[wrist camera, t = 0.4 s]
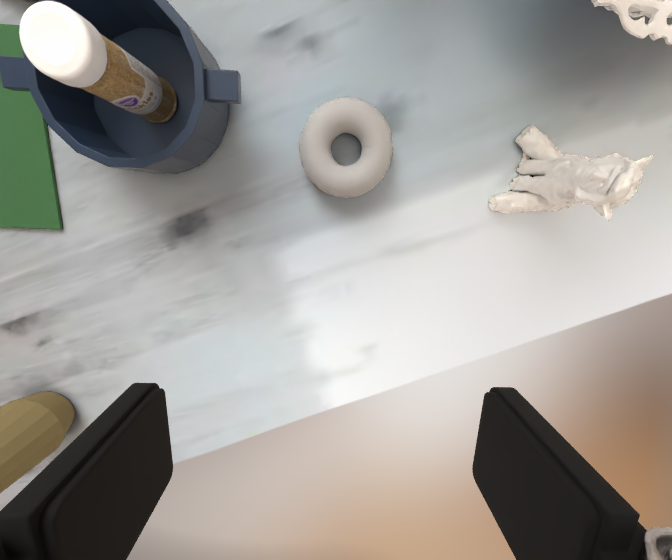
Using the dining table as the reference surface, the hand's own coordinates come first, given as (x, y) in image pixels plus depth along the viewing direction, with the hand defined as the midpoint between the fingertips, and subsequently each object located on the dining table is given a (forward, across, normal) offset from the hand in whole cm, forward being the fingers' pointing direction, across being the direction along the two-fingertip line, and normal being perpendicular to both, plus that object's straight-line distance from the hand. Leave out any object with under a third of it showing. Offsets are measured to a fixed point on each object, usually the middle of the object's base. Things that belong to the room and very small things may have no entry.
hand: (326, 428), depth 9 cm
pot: (+30, +18, -16) cm, 39 cm away
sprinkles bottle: (+30, +18, -16) cm, 39 cm away
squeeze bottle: (+31, +36, +22) cm, 52 cm away
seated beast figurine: (+31, -24, -9) cm, 40 cm away
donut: (+31, -2, -12) cm, 33 cm away
